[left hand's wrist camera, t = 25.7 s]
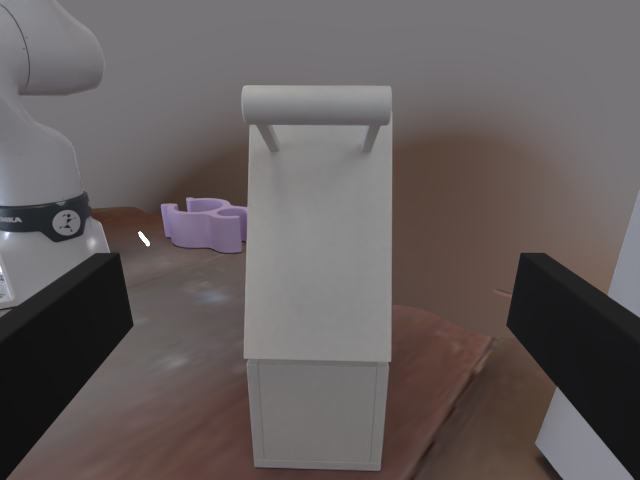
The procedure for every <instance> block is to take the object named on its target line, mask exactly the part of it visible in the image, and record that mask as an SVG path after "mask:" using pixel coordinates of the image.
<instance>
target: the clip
mask: <svg viewBox="0 0 640 480" xmlns="http://www.w3.org/2000/svg"><path fill="white" fill-rule="evenodd" d="M186 201H187V209H188V212H181V211H178V206H177V204H162V205H161V209H162V216H163V222H164V229H165V236H166V237H171V241H172V243H173V244H174V245H177V246H180V247H186V248H203V247H206V248H212V249H214V250H216V251H218V252H223V253H237V252H242V242H241V241H245V242H247V213H248V208H247V207H238V206H232V205H230V203H229V202H228V201H225V200H222V199H213V198H201V199H193V198H186Z"/></svg>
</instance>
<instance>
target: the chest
mask: <svg viewBox="0 0 640 480" xmlns="http://www.w3.org/2000/svg"><path fill="white" fill-rule="evenodd" d="M388 375H389V365H388V362H361V361H316V360H271V359H248V362H247V378H248V390H249V403H250V416H251V429H252V442H253V454H254V467H264V468H297V469H331V470H364V471H381V460H382V448H383V436H384V424H385V412H386V399H387V387H388Z"/></svg>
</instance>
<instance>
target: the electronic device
mask: <svg viewBox="0 0 640 480" xmlns="http://www.w3.org/2000/svg"><path fill="white" fill-rule="evenodd" d="M607 296H609V297H610V298H612V299H613V300H615V301H616V302H618V303H619V304H620V305H622V306H623V307H625V308H626V309H628V310H629V311H631V312H632V313H634V314H635V315H637V316H638V317H640V190H639V194H638V197H637V200H636V203H635V207H634V210H633V213H632V217H631V220H630V223H629V226H628V230H627V233H626V236H625V239H624V243H623V246H622V249H621V253H620V256H619V259H618V262H617V266H616V269H615V272H614V275H613V279H612V282H611V285H610V289H609V292H608V295H607ZM535 445H536V446H537V447H538V448H539V450H540V451H541V452H542V453H543V455H544V456H545V457H546V458H547V460H548V461H549V462H550V463H551V465H552V466H553V467H554V469H555V470H556V471H557V472H558V474H559V475H560V476H561V477H562V479H563V480H634V479H633V477H632V476H631V475H630V474H629V472H628V471H627V470H626V469H625V468H624V466H623V465H622V464H621V463H620V462H619V460H618V459H617V458H616V457H615V456H614V454H613V453H612V452H611V451H610V450H609V448H608V447H607V446H606V445H605V444H604V442H603V441H602V440H601V439H600V438H599V436H598V435H597V434H596V433H595V432H594V430H593V429H592V428H591V427H590V426H589V424H588V423H587V422H586V421H585V420H584V418H583V417H582V416H581V415H580V413H579V412H578V411H577V410H576V409H575V407H574V406H573V405H572V404H571V403H570V401H569V400H568V399H567V398H566V397H565V395H564V394H563V393H562V392H561V391H560V389H559V388H558V387H557V388H556V391H555V393H554V396H553V398H552V401H551V404H550V406H549V409H548V411H547V414H546V416H545V419H544V422H543V424H542V427H541V429H540V432H539V435H538V437H537V440H536V442H535Z"/></svg>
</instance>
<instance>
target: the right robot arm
mask: <svg viewBox="0 0 640 480" xmlns="http://www.w3.org/2000/svg"><path fill="white" fill-rule="evenodd" d="M104 71H105V60H104V55H103V51H102V48H101V46H100V44H99V42H98V40H97V39H96V37H95V36H94V34H93V33H92V32H91V31H90V30H89V29H88V28H87V27H85V26H84V25H83V24H81V23H80V22H78V21H77V20H76V19H75V18H74V17H72V16H71V15H70V14H69V13H68V12H67V11H66V10H65V9H64V8H63V7H62V6H61V5H60V4H59V3H58V2H57V1H56V0H0V309H3V308H9V307H14V306H18V305H20V304H21V303H22V302H24V301H25V300H27V299H28V298H30V297H31V296H33V295H34V294H36V293H37V292H39V291H40V290H42V289H43V288H45V287H46V286H48V285H49V284H51V283H52V282H53V281H55V280H56V279H58V278H59V277H61V276H62V275H64V274H65V273H67V272H68V271H70V270H71V269H73V268H74V267H76V266H77V265H79V264H80V263H82V262H83V261H84V260H86V259H87V258H89V257H90V256H92V255H93V254H95V253H110V251H109V247H108V244H107V241H106V238H105V234H104V231H103V228H102V225H101V223H100V222H98V221H97V220H94V219H93V218H92V217H91V214H92V211H91V207H90V205H91V204H90V200H89V198H88V195H87V193H86V192H85V191H83V186H82V182H81V177H80V173H79V168H78V164H77V159H76V155H75V150H74V147H73V145H72V144H71V142H70V141H69V140H68V139H67V138H66V137H65V136H64V135H63V134H61V133H60V132H58V131H56V130H54V129H52V128H50V127H47V126H44V125H42V124H39V123H37V122H36V121H34V120H33V119H32V118H31V117H30V116H29V114H28V113H27V112H26V110H25V109H24V107H23V105H22V103H21V101H20V98H19V96H69V95H75V94H80V93H84V92H88V91H92V90H94V89H96V88H97V87H98V86H99V84H100V83H101V81H102V79H103V76H104ZM139 236H140V237H141V238H142V240H143V241H144V242H145V243H146V245H147V246H149V242H148V240H147V239H146V238H145V237H144V235H143V234H142V233H141V232H139Z"/></svg>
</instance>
